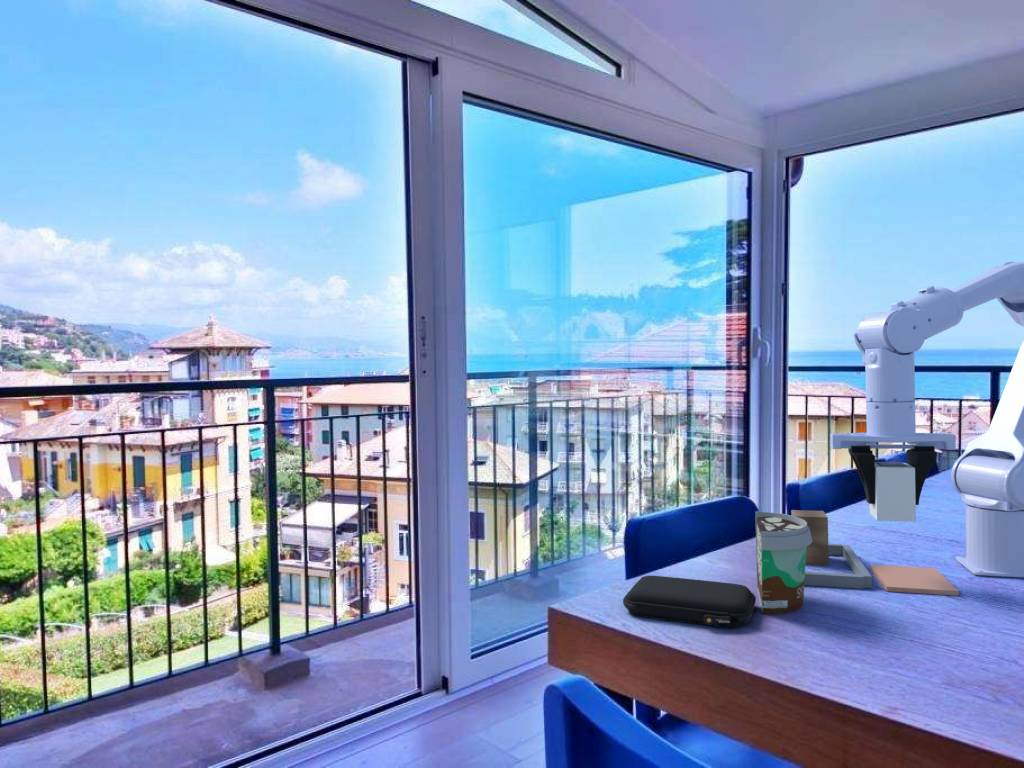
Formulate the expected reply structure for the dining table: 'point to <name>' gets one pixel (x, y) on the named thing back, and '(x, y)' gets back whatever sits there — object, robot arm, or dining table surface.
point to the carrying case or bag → (691, 601)
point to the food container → (781, 561)
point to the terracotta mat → (913, 580)
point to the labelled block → (894, 492)
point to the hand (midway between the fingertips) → (892, 503)
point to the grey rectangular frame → (842, 580)
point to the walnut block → (816, 536)
